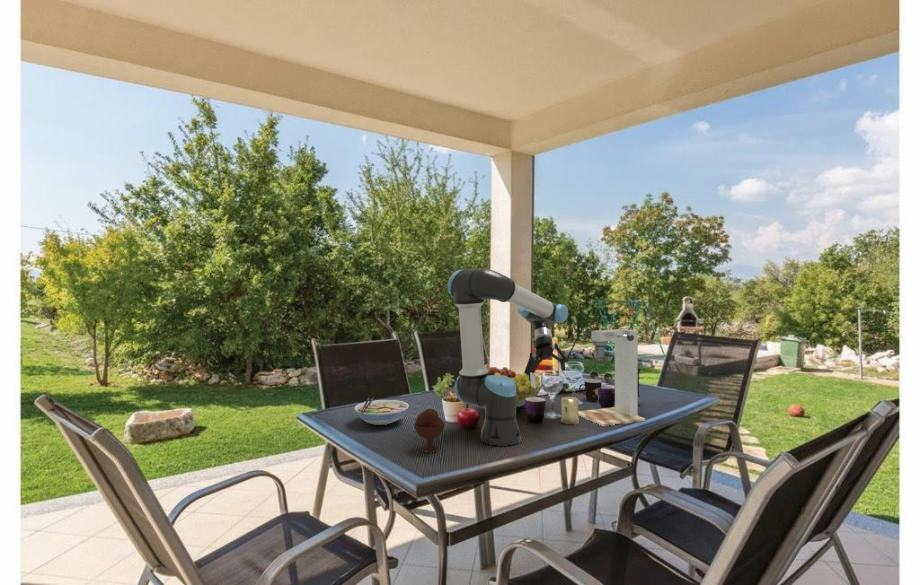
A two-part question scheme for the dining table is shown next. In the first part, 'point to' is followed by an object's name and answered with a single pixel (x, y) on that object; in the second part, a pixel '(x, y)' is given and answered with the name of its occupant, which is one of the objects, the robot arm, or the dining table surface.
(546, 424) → the dining table surface
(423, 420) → the ice cream bowl
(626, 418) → the plate
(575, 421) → the cream pillar candle
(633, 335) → the press frame
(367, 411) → the ramen bowl
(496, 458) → the dining table surface
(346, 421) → the dining table surface
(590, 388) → the coffee mug
